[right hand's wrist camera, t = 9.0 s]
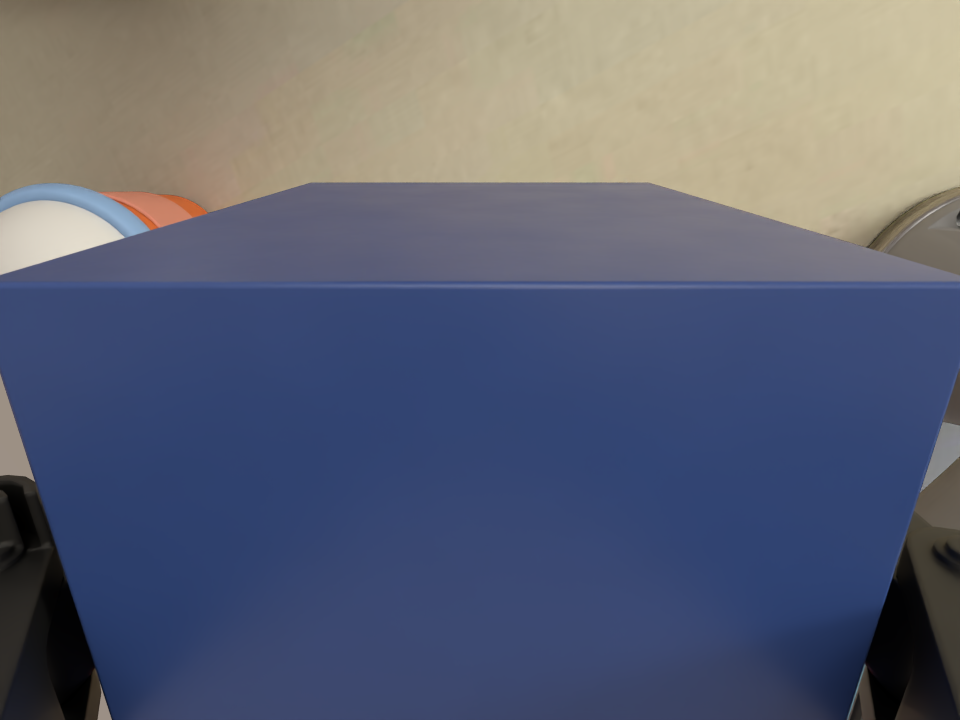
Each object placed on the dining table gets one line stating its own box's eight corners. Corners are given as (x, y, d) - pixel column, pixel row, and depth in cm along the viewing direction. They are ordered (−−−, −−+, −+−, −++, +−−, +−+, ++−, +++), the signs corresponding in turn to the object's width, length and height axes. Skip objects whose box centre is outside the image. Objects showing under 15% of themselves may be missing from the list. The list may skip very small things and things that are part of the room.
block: (340, 491, 18) (174, 919, 8) (309, 182, 15) (-34, 282, 5) (618, 491, 18) (784, 920, 8) (650, 182, 15) (991, 282, 5)
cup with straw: (116, 311, 38) (-163, 453, 22) (89, 165, 35) (-267, 198, 18) (256, 317, 38) (88, 462, 22) (243, 172, 35) (30, 212, 18)
